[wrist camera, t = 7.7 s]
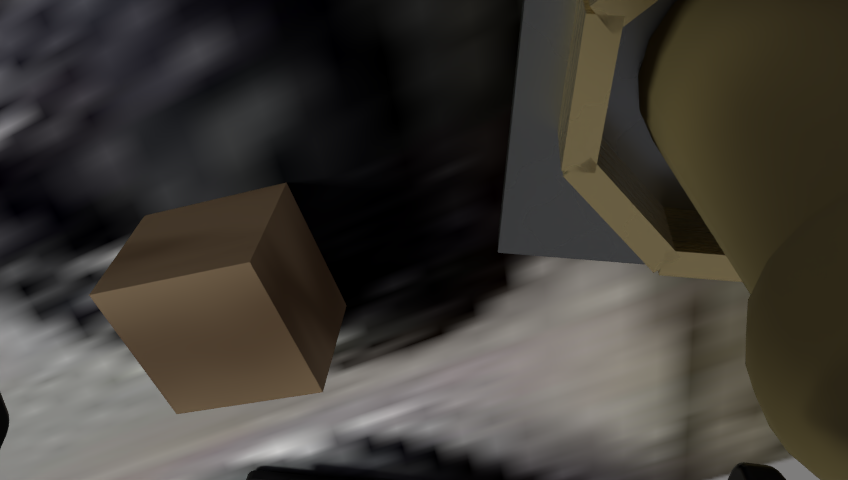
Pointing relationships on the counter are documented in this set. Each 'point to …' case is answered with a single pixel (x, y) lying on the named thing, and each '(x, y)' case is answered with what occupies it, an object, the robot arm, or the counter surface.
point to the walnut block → (225, 301)
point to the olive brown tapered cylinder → (769, 190)
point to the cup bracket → (595, 147)
